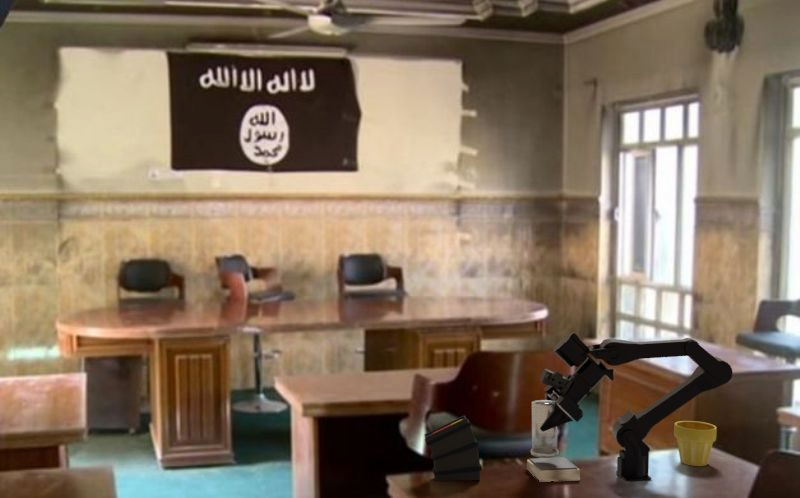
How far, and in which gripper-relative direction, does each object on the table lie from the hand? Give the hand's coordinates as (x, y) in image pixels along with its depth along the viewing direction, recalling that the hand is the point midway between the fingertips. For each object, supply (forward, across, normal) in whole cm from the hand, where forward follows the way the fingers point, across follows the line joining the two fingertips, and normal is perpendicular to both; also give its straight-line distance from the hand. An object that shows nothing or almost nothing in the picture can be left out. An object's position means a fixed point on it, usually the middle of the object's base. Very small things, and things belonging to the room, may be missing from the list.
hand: (538, 427), depth 219 cm
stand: (+6, 0, +11) cm, 13 cm away
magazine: (+23, +3, -7) cm, 24 cm away
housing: (+4, 0, +6) cm, 7 cm away
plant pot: (-20, -12, +39) cm, 46 cm away
